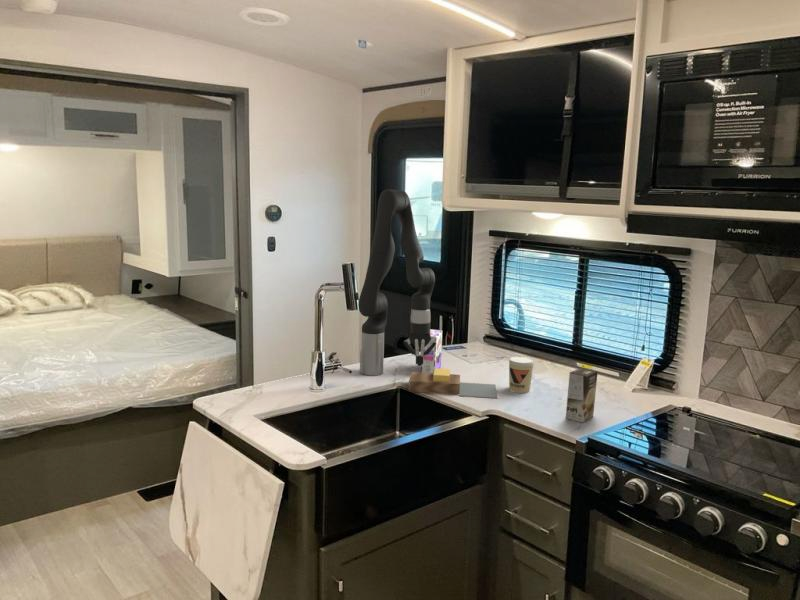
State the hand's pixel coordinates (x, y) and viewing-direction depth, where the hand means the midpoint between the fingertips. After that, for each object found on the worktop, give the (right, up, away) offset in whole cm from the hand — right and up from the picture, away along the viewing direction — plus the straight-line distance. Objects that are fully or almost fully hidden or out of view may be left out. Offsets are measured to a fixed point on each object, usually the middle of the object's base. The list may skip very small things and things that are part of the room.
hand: (419, 365), depth 235 cm
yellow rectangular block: (+8, -5, 0) cm, 10 cm away
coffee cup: (+39, -10, +2) cm, 40 cm away
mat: (+22, -10, -1) cm, 24 cm away
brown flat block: (+6, -9, +1) cm, 11 cm away
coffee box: (+54, -15, -25) cm, 61 cm away
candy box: (+6, -5, +24) cm, 25 cm away
